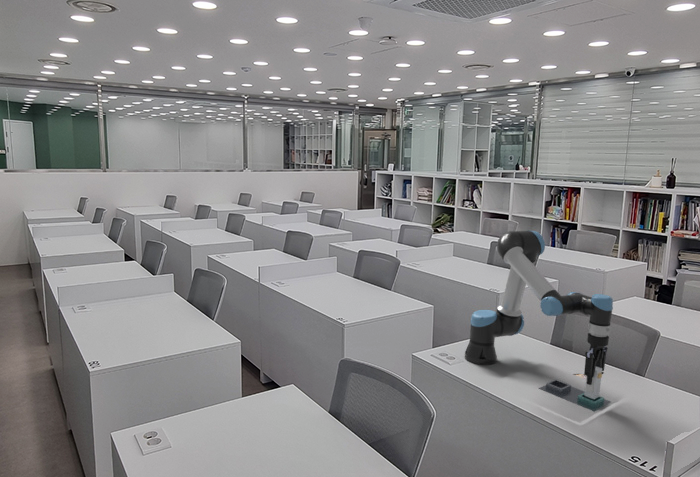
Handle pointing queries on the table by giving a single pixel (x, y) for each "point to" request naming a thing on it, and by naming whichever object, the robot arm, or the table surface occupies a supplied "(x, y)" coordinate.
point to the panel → (573, 395)
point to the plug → (595, 384)
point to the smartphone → (580, 375)
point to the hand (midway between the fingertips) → (592, 390)
